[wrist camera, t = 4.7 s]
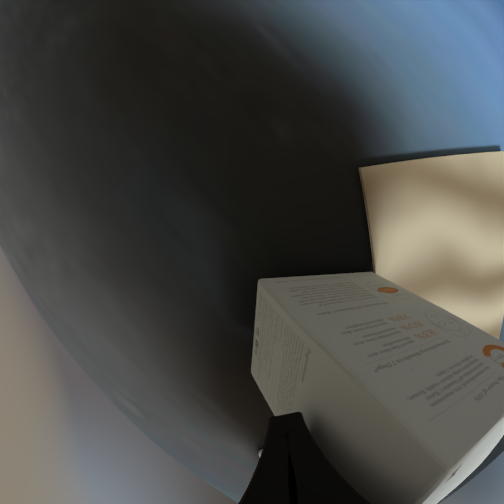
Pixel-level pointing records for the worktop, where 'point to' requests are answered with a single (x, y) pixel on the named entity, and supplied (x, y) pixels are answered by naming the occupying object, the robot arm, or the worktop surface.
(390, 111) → the worktop surface
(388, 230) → the board
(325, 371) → the small box
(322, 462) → the robot arm
